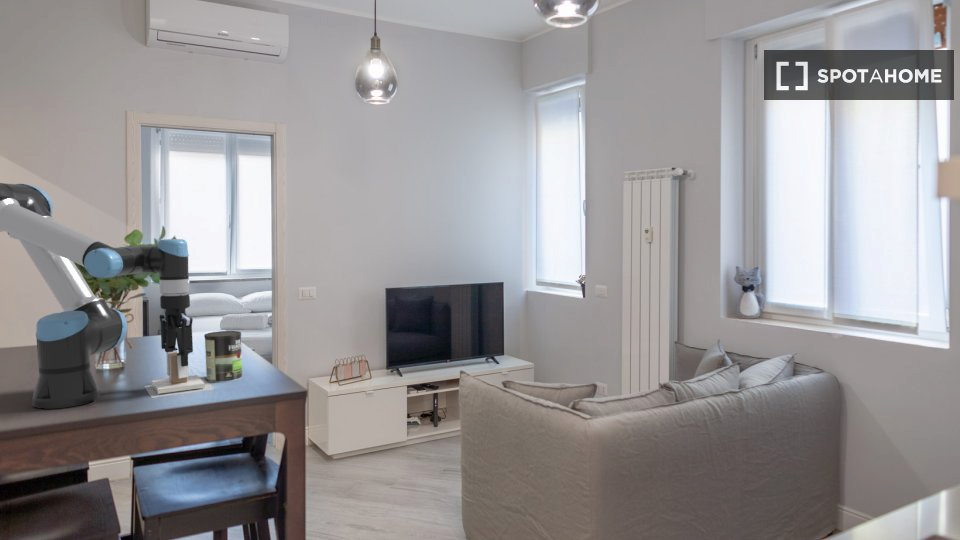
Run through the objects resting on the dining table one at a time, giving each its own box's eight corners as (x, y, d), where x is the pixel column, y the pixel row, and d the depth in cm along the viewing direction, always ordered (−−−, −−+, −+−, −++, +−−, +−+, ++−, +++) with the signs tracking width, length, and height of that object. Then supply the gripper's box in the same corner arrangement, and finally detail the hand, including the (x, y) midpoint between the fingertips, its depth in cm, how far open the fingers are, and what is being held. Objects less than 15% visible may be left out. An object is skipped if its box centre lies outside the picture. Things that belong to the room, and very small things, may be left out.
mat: (151, 400, 177) (151, 398, 177) (144, 388, 190) (144, 385, 190) (215, 391, 185) (214, 389, 185) (203, 380, 199) (203, 378, 199)
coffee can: (249, 376, 203) (247, 330, 202) (230, 384, 193) (228, 336, 192) (219, 375, 205) (217, 330, 204) (198, 383, 195) (196, 335, 194)
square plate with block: (157, 393, 180) (156, 360, 179) (152, 384, 190) (150, 352, 189) (205, 387, 186) (203, 355, 185) (197, 379, 196) (195, 348, 195)
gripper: (205, 295, 183) (207, 377, 185) (171, 291, 194) (174, 369, 196) (178, 297, 177) (182, 383, 179) (145, 293, 188) (148, 374, 190)
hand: (177, 375), depth 188 cm, fingers closed on square plate with block, 5 cm apart
